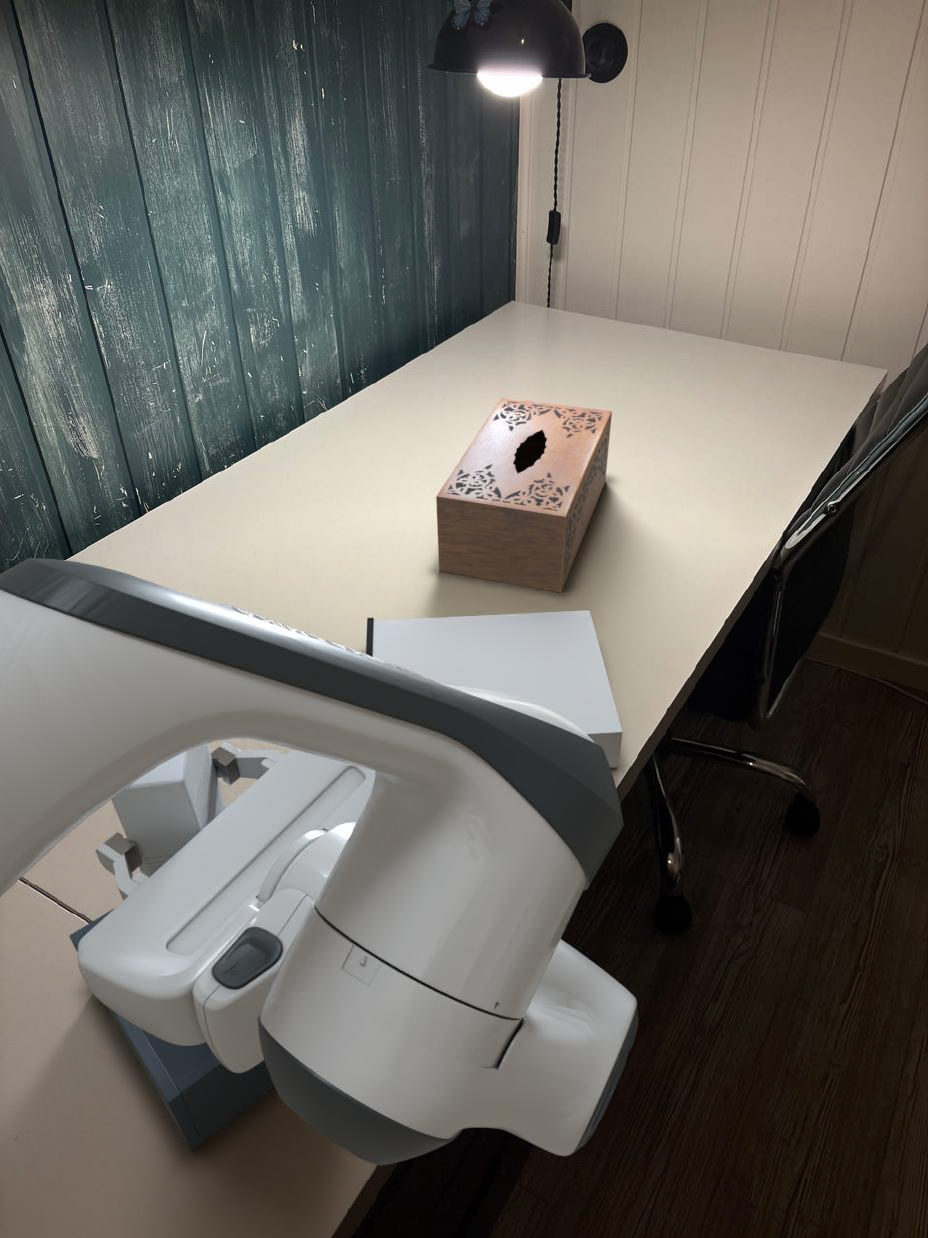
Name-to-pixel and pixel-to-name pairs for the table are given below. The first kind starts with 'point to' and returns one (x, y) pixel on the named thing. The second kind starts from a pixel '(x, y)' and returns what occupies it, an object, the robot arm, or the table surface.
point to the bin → (190, 1077)
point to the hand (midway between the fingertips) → (164, 800)
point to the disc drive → (512, 662)
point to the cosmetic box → (170, 806)
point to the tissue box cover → (524, 494)
